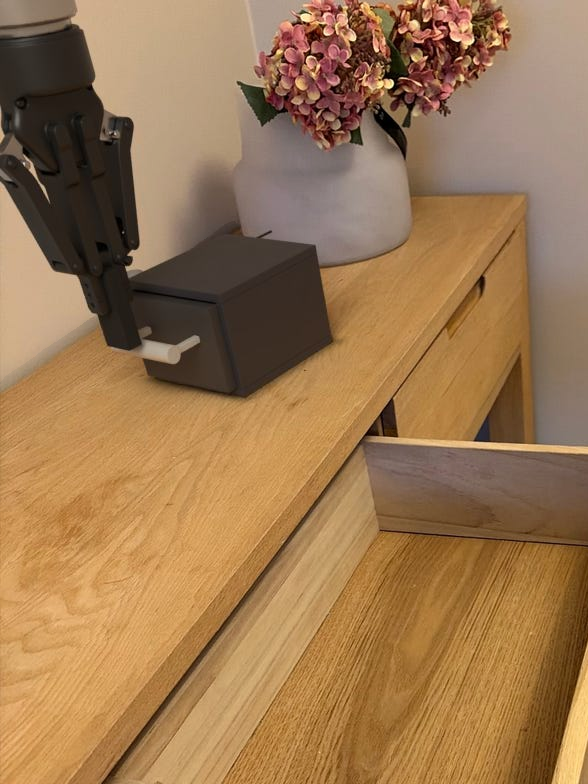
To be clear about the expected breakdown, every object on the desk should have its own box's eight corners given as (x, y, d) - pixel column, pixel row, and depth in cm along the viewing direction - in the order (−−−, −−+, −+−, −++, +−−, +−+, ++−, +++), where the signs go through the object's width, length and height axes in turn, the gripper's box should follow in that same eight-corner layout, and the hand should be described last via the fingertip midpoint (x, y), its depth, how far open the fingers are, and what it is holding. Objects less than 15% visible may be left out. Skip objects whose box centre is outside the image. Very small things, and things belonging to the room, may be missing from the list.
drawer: (196, 413, 87) (172, 327, 82) (114, 394, 91) (86, 312, 86) (312, 341, 98) (297, 261, 93) (233, 327, 102) (215, 250, 97)
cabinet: (244, 397, 91) (219, 294, 85) (154, 378, 96) (124, 279, 90) (332, 341, 100) (315, 244, 93) (245, 326, 104) (224, 233, 98)
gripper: (-15, 46, 64) (98, 383, 79) (130, 12, 72) (208, 323, 88) (-87, 43, 67) (35, 368, 82) (61, 11, 76) (147, 311, 91)
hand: (124, 344), depth 85 cm, fingers closed
